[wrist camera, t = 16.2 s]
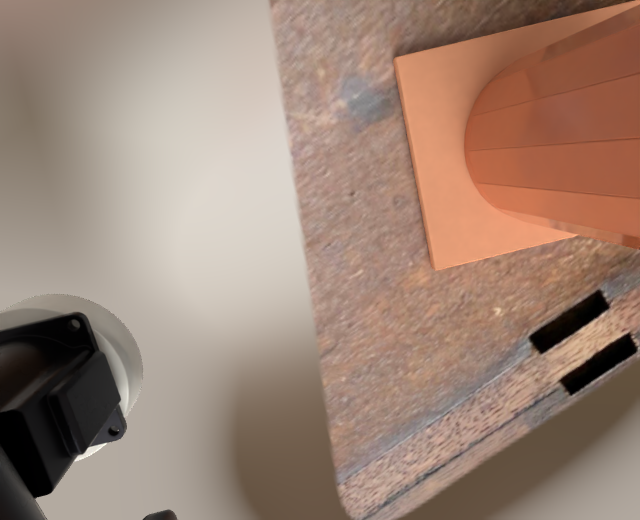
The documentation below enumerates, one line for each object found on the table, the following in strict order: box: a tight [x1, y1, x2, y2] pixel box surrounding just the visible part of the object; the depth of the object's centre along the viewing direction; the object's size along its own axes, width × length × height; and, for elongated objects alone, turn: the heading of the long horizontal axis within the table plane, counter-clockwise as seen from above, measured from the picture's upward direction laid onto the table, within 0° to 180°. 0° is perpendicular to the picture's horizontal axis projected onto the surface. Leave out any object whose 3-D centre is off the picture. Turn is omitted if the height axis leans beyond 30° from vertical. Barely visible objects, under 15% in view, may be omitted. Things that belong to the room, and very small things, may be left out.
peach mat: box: [393, 0, 640, 271], centre depth 20 cm, size 11×9×1 cm
